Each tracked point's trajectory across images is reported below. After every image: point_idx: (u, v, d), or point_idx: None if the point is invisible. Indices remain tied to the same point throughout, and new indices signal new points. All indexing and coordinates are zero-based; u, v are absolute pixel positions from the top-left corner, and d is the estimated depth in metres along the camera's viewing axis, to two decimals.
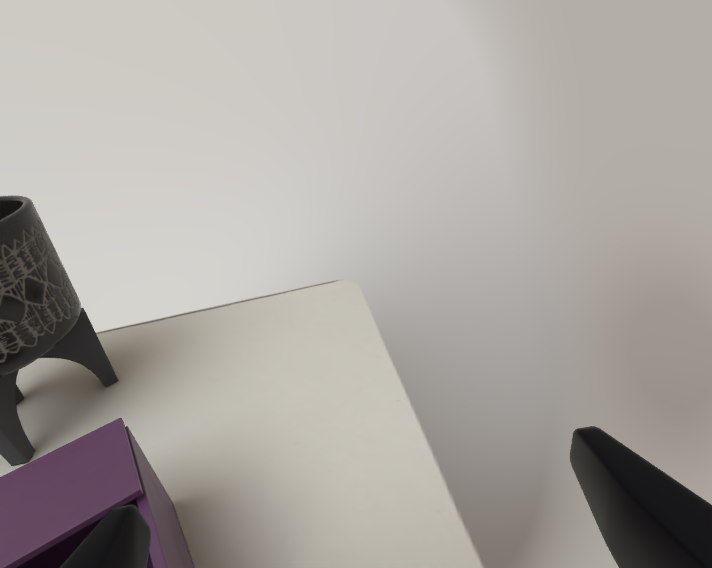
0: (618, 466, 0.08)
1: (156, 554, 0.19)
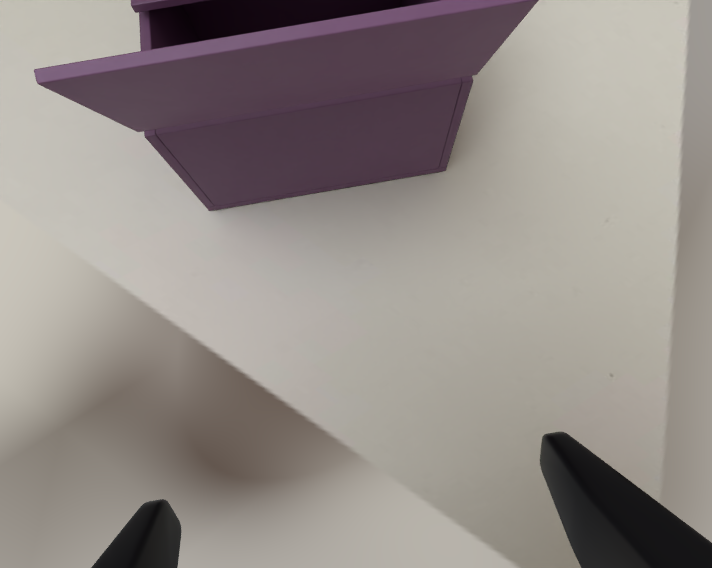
0: (582, 472, 0.08)
1: None
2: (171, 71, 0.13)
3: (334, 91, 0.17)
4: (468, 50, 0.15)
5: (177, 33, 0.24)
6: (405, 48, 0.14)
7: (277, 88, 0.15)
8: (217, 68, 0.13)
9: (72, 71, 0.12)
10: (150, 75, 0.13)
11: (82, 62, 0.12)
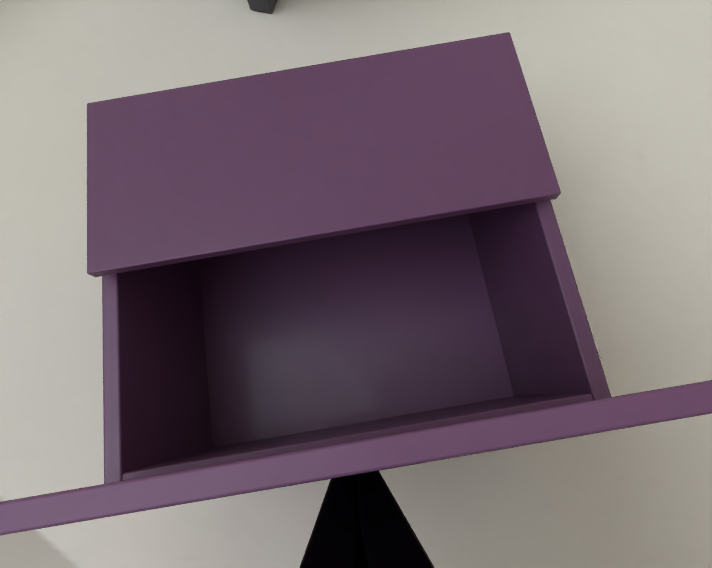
0: (367, 509, 0.08)
1: (574, 303, 0.13)
2: None
3: None
4: None
5: None
6: None
7: None
8: None
9: None
10: None
11: None
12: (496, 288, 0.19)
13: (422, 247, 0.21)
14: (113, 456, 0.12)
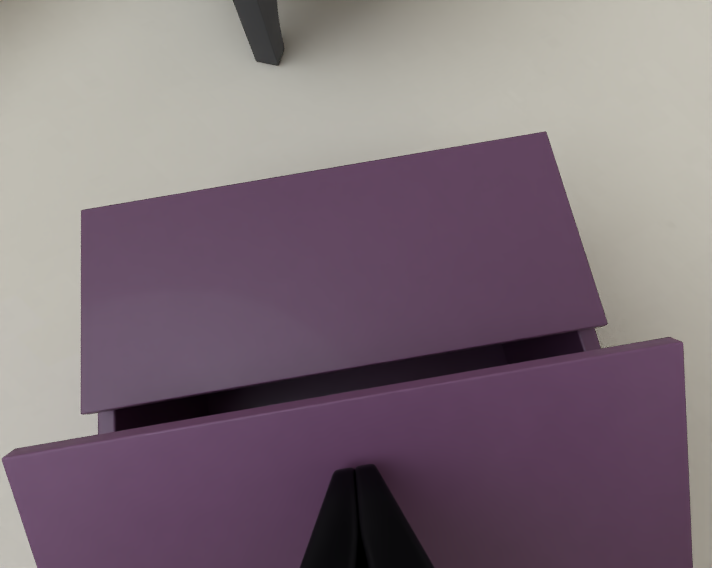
0: (366, 509, 0.08)
1: None
2: (178, 458, 0.09)
3: None
4: (634, 482, 0.09)
5: None
6: (522, 453, 0.09)
7: None
8: (242, 464, 0.09)
9: (56, 445, 0.09)
10: (148, 465, 0.09)
11: (76, 443, 0.09)
12: None
13: None
14: None
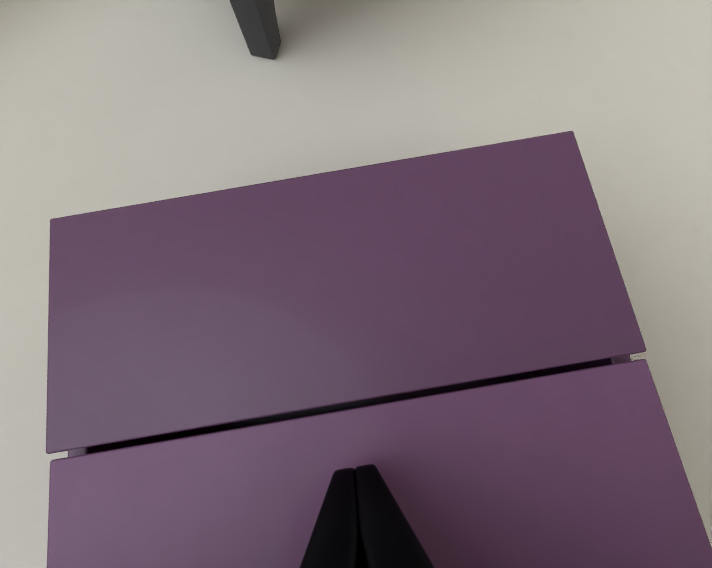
0: (366, 509, 0.08)
1: None
2: (199, 464, 0.10)
3: None
4: (639, 505, 0.09)
5: None
6: (517, 467, 0.10)
7: None
8: (255, 473, 0.10)
9: (97, 452, 0.10)
10: (172, 471, 0.10)
11: (114, 455, 0.10)
12: None
13: None
14: None
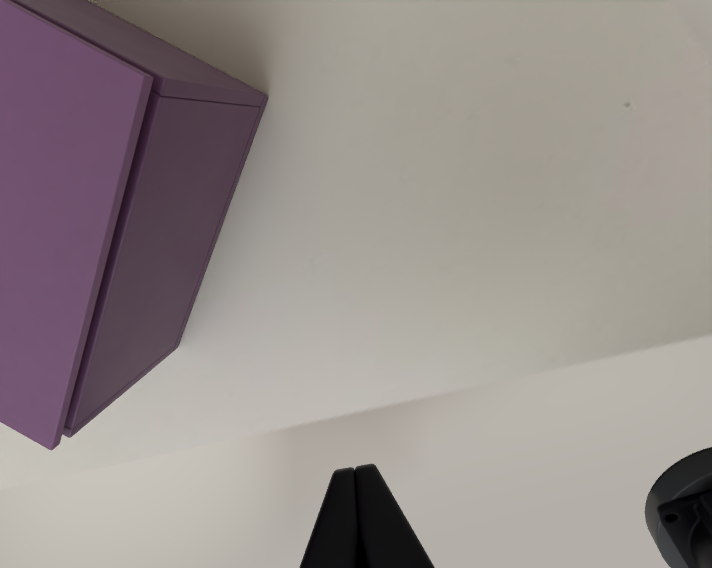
0: (367, 509, 0.08)
1: None
2: None
3: (70, 255, 0.13)
4: (36, 68, 0.11)
5: None
6: None
7: (20, 286, 0.14)
8: None
9: None
10: None
11: None
12: None
13: None
14: None
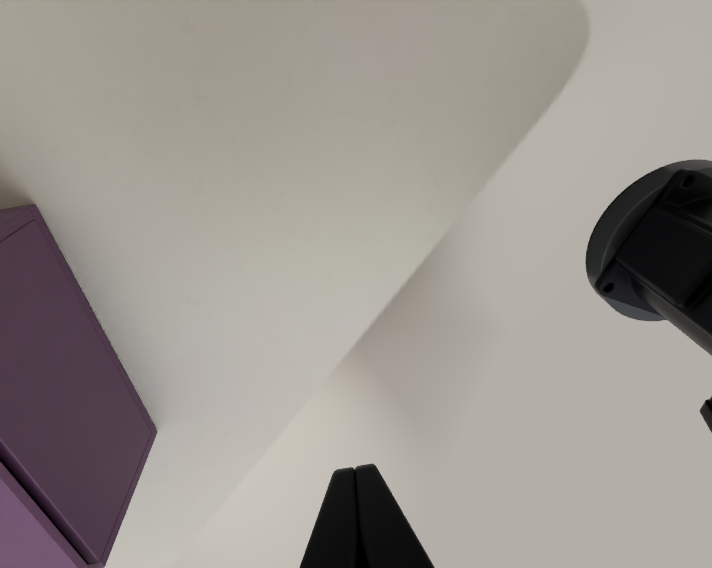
0: (366, 509, 0.08)
1: None
2: None
3: None
4: None
5: None
6: None
7: None
8: None
9: None
10: None
11: None
12: None
13: None
14: None
